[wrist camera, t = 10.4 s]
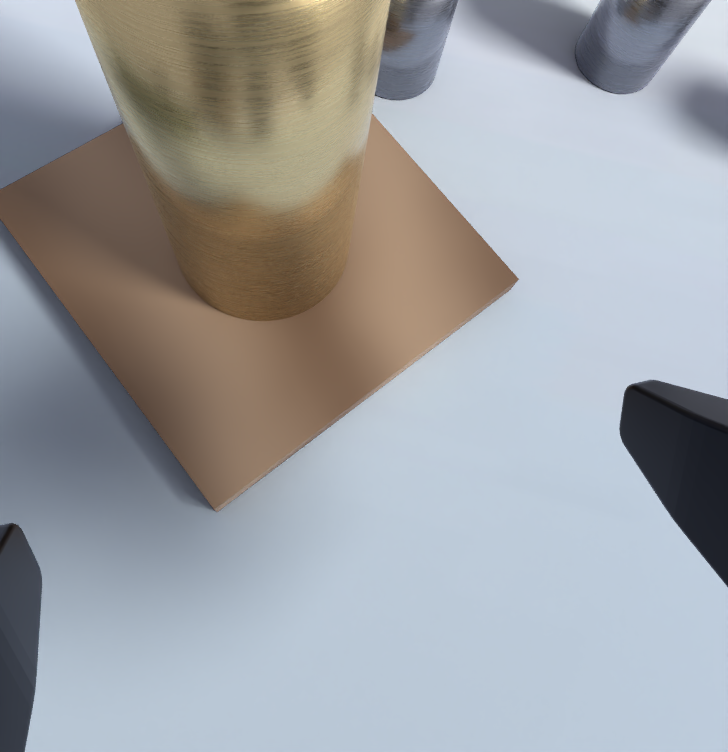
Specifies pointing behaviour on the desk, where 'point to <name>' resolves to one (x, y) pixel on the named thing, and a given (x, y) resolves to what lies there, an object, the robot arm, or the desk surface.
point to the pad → (247, 337)
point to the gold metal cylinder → (247, 135)
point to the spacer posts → (593, 50)
